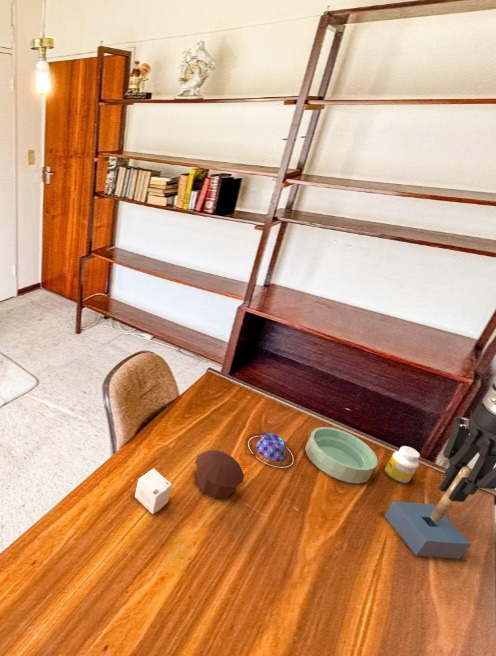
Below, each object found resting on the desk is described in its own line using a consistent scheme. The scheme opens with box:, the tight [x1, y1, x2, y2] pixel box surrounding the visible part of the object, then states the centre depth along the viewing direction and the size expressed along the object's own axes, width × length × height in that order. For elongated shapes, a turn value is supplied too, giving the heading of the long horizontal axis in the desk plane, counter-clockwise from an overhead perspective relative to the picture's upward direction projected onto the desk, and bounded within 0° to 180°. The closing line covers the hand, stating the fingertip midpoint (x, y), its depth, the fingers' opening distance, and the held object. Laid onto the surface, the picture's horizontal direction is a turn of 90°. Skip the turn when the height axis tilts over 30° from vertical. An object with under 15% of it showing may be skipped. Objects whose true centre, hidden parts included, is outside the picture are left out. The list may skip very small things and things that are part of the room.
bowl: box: [304, 426, 379, 484], centre depth 113 cm, size 16×16×6 cm
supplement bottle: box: [384, 445, 421, 484], centre depth 108 cm, size 5×5×10 cm
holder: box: [384, 501, 472, 560], centre depth 93 cm, size 10×10×6 cm
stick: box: [430, 466, 473, 522], centre depth 88 cm, size 2×2×17 cm
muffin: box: [195, 449, 245, 500], centre depth 103 cm, size 12×11×10 cm
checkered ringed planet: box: [247, 432, 295, 469], centre depth 116 cm, size 12×12×5 cm
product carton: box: [134, 468, 173, 515], centre depth 99 cm, size 6×6×7 cm
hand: (451, 494), depth 88 cm, fingers closed on stick, 2 cm apart
